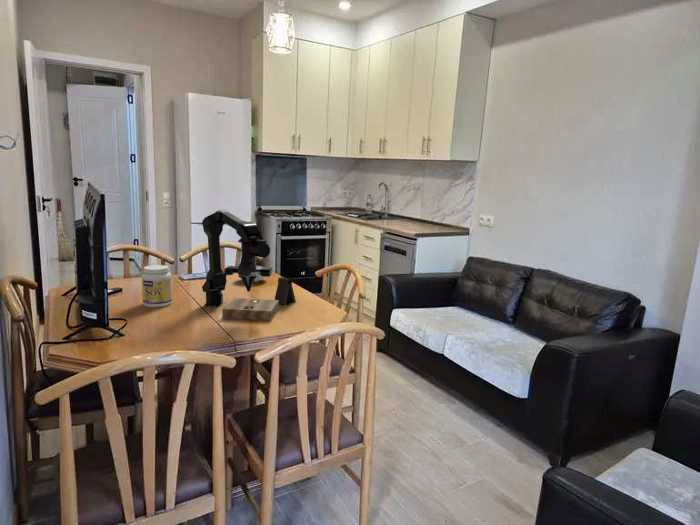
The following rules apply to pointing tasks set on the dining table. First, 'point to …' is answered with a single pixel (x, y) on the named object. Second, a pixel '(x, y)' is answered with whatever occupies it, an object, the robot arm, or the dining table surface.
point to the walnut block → (258, 311)
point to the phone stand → (285, 292)
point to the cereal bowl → (259, 275)
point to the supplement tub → (156, 286)
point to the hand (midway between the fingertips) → (248, 291)
